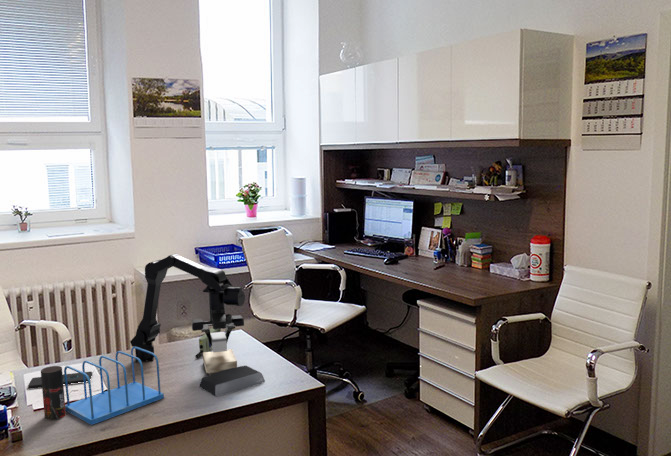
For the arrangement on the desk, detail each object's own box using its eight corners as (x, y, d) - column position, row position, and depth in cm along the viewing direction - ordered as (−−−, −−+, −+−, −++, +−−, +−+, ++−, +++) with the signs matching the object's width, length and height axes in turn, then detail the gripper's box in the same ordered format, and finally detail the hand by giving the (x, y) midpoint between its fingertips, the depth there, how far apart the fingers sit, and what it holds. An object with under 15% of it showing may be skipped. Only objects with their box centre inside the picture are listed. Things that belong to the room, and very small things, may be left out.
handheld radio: (223, 339, 263) (201, 359, 238) (215, 339, 263) (193, 359, 239) (221, 324, 262) (199, 343, 238) (214, 324, 263) (191, 343, 238)
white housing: (212, 352, 224) (212, 339, 223) (210, 345, 231) (210, 332, 231) (227, 351, 225) (226, 337, 224) (224, 344, 233) (223, 331, 232)
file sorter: (135, 386, 212) (133, 343, 210) (164, 399, 201) (161, 354, 199) (64, 410, 194) (60, 363, 192) (91, 426, 182) (87, 376, 180)
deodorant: (48, 412, 192) (45, 366, 190) (68, 411, 193) (64, 365, 191) (41, 421, 186) (37, 373, 184) (61, 419, 187) (57, 372, 185)
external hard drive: (266, 383, 214) (266, 372, 213) (216, 398, 201) (216, 386, 201) (246, 373, 224) (246, 362, 223) (198, 387, 211) (197, 375, 211)
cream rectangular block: (206, 375, 221) (206, 364, 221) (203, 362, 234) (202, 352, 234) (237, 371, 224) (236, 361, 224) (232, 359, 237) (231, 349, 237)
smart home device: (89, 378, 217) (27, 385, 211) (90, 383, 217) (28, 390, 212) (92, 370, 225) (32, 377, 219) (92, 375, 225) (32, 381, 220)
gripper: (192, 312, 216) (194, 355, 218) (245, 307, 221) (247, 349, 223) (190, 304, 226) (192, 345, 228) (241, 300, 232) (242, 340, 234)
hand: (218, 345), depth 228 cm, fingers closed on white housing, 5 cm apart
